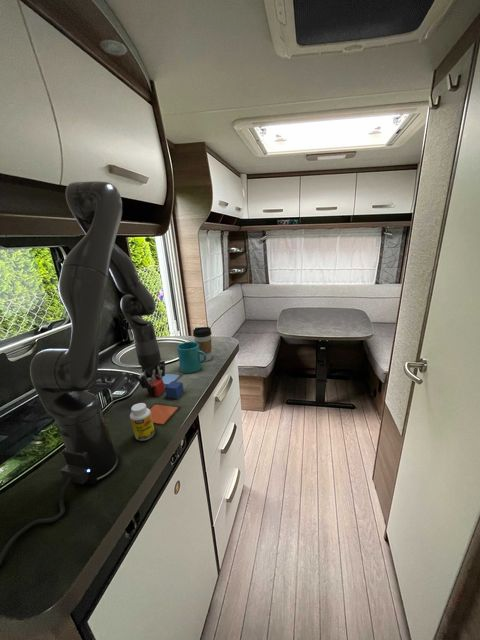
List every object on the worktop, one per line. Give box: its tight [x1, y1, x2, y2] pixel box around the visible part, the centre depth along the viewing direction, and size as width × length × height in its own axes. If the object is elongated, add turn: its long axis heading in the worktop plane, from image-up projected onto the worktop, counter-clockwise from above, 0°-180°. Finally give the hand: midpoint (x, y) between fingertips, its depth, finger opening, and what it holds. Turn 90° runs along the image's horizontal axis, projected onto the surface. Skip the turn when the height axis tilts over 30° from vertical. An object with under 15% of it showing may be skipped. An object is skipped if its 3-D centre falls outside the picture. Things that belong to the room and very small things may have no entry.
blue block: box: [164, 381, 184, 400], centre depth 102 cm, size 4×4×4 cm
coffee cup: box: [192, 326, 212, 362], centre depth 129 cm, size 8×8×15 cm
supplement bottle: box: [129, 402, 156, 442], centre depth 81 cm, size 6×6×10 cm
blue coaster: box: [162, 372, 181, 386], centre depth 114 cm, size 8×8×1 cm
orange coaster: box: [149, 404, 179, 425], centre depth 92 cm, size 9×9×1 cm
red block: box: [146, 379, 166, 397], centre depth 104 cm, size 4×4×4 cm
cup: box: [176, 341, 207, 374], centre depth 120 cm, size 9×12×11 cm
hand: (156, 391), depth 105 cm, fingers closed on red block, 4 cm apart
